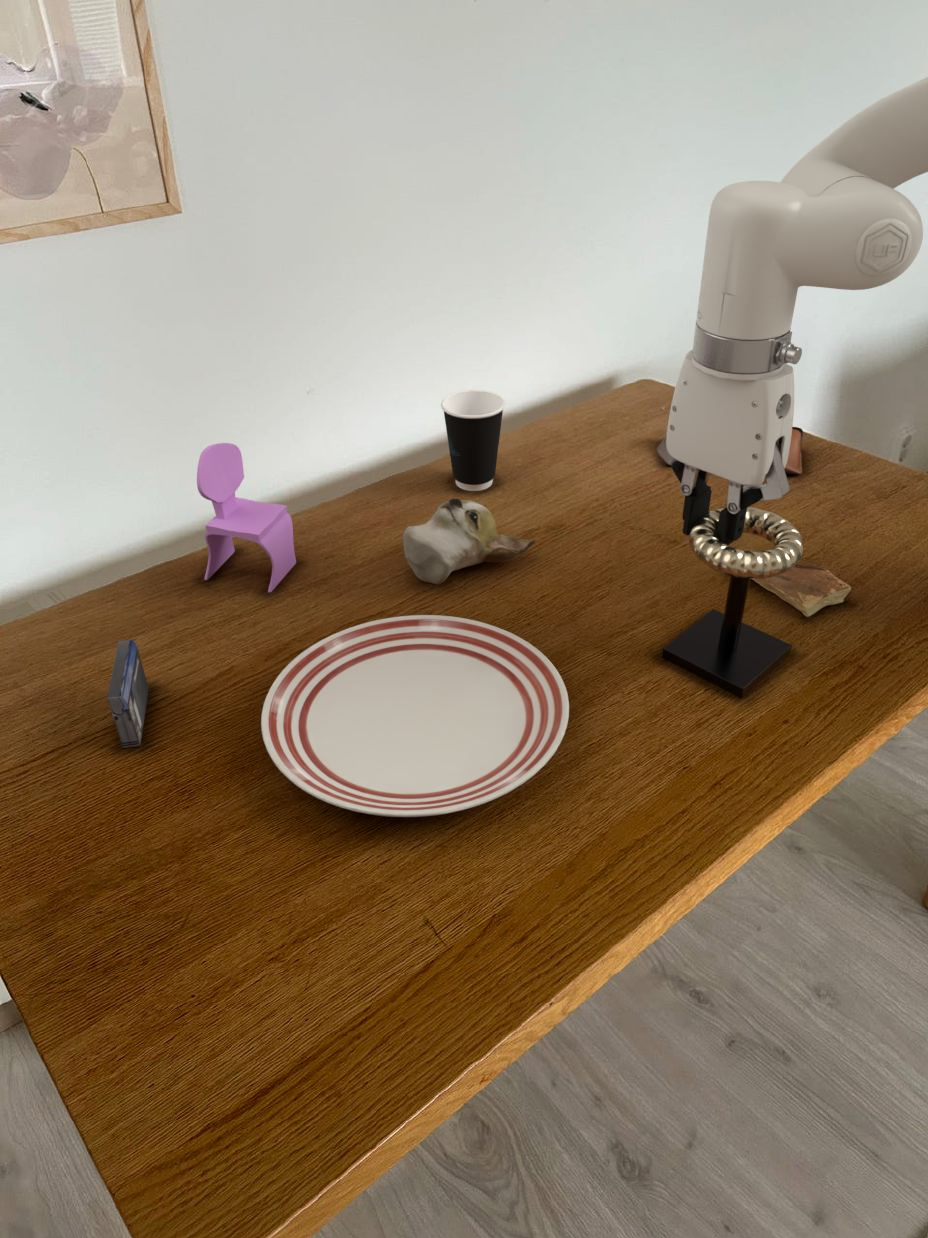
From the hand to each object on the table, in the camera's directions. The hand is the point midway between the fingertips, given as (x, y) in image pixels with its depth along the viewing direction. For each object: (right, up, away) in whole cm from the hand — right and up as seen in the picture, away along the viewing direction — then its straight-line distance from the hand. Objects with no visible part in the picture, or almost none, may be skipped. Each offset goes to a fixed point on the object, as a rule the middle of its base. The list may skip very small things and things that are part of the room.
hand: (710, 534), depth 92 cm
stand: (+3, -12, +5) cm, 13 cm away
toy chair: (-47, -3, +19) cm, 51 cm away
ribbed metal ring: (+3, -1, -2) cm, 4 cm away
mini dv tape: (-54, -17, 0) cm, 56 cm away
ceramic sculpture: (-24, -2, +20) cm, 31 cm away
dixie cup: (-22, +10, +35) cm, 42 cm away
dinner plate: (-27, -18, -2) cm, 33 cm away
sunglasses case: (+13, +13, +39) cm, 43 cm away
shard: (+12, -5, +14) cm, 19 cm away
